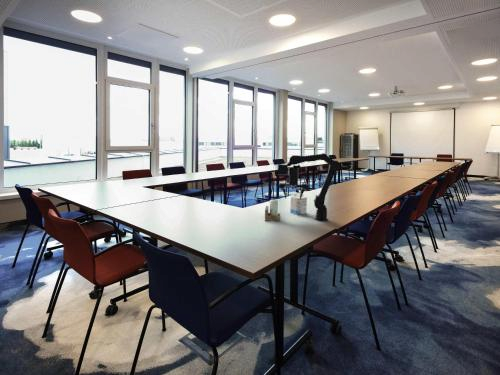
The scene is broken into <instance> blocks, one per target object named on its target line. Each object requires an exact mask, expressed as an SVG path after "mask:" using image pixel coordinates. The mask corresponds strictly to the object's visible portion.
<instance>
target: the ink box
mask: <svg viewBox="0 0 500 375" xmlns="http://www.w3.org/2000/svg"><path fill="white" fill-rule="evenodd" d="M307 204H308V197H307V196H305V195H304V193H303V194H302V197H301V199H300V193H293V194H292V195H290V208H289V209H290V210H289V212H290V213H291V214H294V215H296V214H297V215H305V213H306V214H307V210H308V209H307Z"/></svg>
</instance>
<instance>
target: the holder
mask: <svg viewBox="0 0 500 375" xmlns="http://www.w3.org/2000/svg"><path fill="white" fill-rule="evenodd" d="M279 220H280V221H281V213H280V212H279V213H278V216H270V212H269V205H265V208H264V221H265V222H268V221H279Z"/></svg>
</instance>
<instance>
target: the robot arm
mask: <svg viewBox="0 0 500 375" xmlns="http://www.w3.org/2000/svg"><path fill="white" fill-rule="evenodd" d="M313 161H314V162H315V161H325V163H327V164H328V165H329V166H328V171H327V174H326V177H325V180H324V182H323V185H322V186H321V189H320V192H319V194H318V195H317V194H316V195H315V198H314V199H313V203H314V204H313V205H314V207H315V209H316V213H315V218H314V220H315V221H319V222H325V221H329V218H328V208H327V206H326V205H325V201H326V195H327V193H328V191H329V188H330V186H331V184H332V181H333V180H334V179H333V178H334V176H335V175H336V173H337V172H338V170H339V169H340V166H341V164H340V162H339V161H338V160H336V159H332V158H331V157H330V156H328V154H327V153H324V152H323V153H316V154H307V155H298V154H297V155H296V154H294V155H293V154H292V155H291V156H290V158H289V162H286V164H279V163H278V164H277V175H278V176H282V175H283V176H287V174H288V177H286V182H279V183H278V189H280V190H281V191H282V192H283V195H284V199H285V200H287V192H286V188H300V193H299V194H300V195H299V196H300V199H301V197H302V194H303V195H304V192H305V191H307V190H308V189H309V184H308V183H307V182H306V183H301V184H299V169H302V166H301V165H300V164H302V163H306V162H313Z"/></svg>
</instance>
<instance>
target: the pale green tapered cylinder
mask: <svg viewBox="0 0 500 375" xmlns="http://www.w3.org/2000/svg"><path fill="white" fill-rule="evenodd" d="M278 208H279V200H278V199H270V200H269V213H270V216H278V212H279V211H278V210H279V209H278Z"/></svg>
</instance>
